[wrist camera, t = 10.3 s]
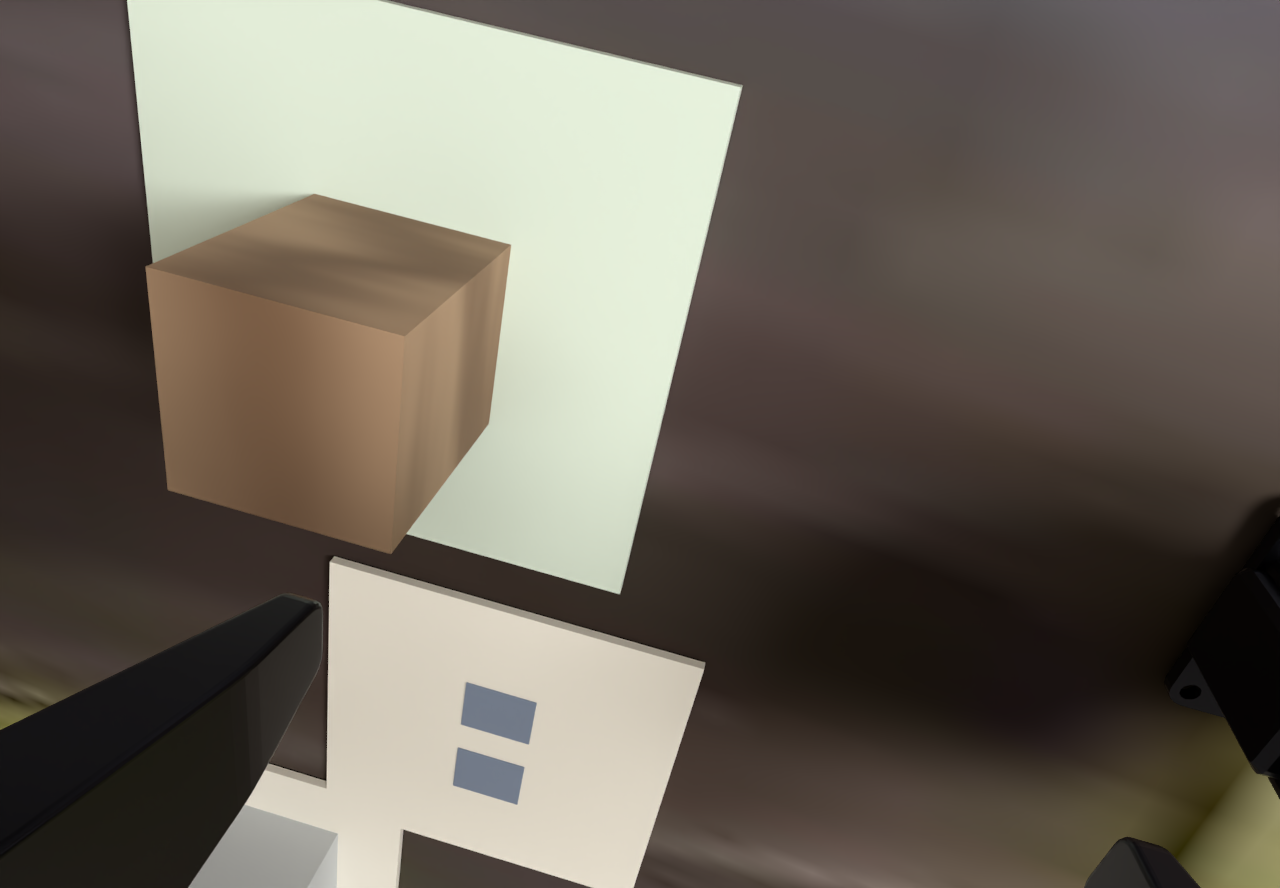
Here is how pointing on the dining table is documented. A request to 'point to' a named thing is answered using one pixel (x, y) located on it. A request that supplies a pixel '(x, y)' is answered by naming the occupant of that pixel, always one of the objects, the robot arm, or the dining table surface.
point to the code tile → (501, 724)
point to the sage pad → (468, 220)
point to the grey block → (271, 854)
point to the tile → (338, 825)
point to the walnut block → (326, 365)
